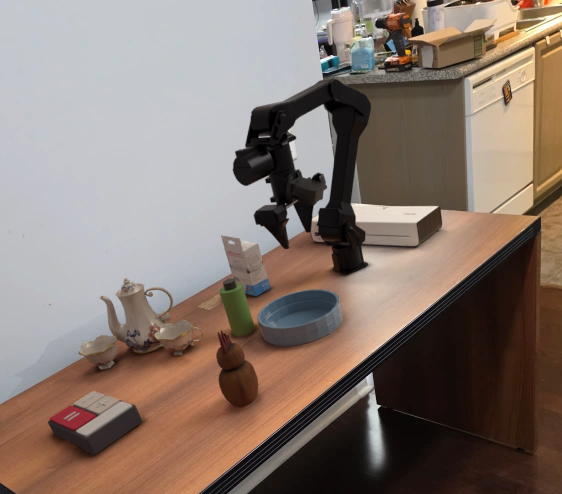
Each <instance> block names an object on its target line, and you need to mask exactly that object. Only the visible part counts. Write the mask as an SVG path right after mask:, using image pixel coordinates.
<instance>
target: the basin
mask: <svg viewBox="0 0 562 494" xmlns="http://www.w3.org/2000/svg"><path fill="white" fill-rule="evenodd" d="M256 319H257V320H256V321H257V323H258V326H259V330H260V333H261V337H262V338H263V340H264V341H265V342H267V343H268V344H271V345H274V346H278V347H279V346H281V347H290V346H300V345H304V344H309V343H312V342H315V341H318V340H320V339H323V338H324V337H327V336H328V335H330V334H331V333H333V332H334V331H336V330H337V329H338V328H339V327H340V326H341V325H342V323H343V321H344V313H343V308H342V304H341V299H340V296H339V295H338V294H337V293H336V292H334V291H332V290H329V289H323V288H311V289H304V290H303V289H302V290H298V291H294V292H290V293H287V294H285V295H284V294H283V295H281V296H280V297H277V298H275V299H273V300H272V301H270V302H268V303H267V304H265V305H264V306H263V307H262V308H261V309H260V310H259V312H258V313H257V318H256Z"/></svg>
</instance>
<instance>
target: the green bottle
mask: <svg viewBox="0 0 562 494" xmlns="http://www.w3.org/2000/svg"><path fill="white" fill-rule="evenodd" d="M222 285H223V286H221V287H220V288H219V291H218V292H219V295H220V298H221V302H222V304H223V307H224V311H225V314H226V317H227V321H228V324H229V327H230V330H231V333H232V335H233V336H236V337H241V336H245V335H248V334H250V333H252V332H253V331H254V330H255V329H256V328H255V322H254V320H253V316H252V312H251V309H250V306H249V303H248V299H247V296H246V294H245V292H244V289H243V285H242V284H241V283H236V282H235V279H233V278H227V279H225V280H223V281H222Z"/></svg>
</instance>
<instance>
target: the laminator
mask: <svg viewBox="0 0 562 494" xmlns="http://www.w3.org/2000/svg"><path fill="white" fill-rule="evenodd" d="M352 208H353V210H354V213H355V215H356V225H357V226H358V227H359V228H361V229H362V230H364V231H365V232H366V235H365V241H364V242H363V243H362V245H361V246H380V247H381V246H382V247H383V246H384V247H401V248H402V247H405V248H417V247H419V246H420V244H422V243H423V242H424V241H426V240H427V239H429V237H431V236H432V235H434V234H435V233H436V232H437V231H438V230H441V229H442V227H443V217H442V207H441V206H440V205H436V206H435V205H357V206H356V205H352ZM318 217H319V213H318V214H316V215H314V216H312V226H311V232H310V233H309V234H310V237H311V240H312V241H313V242H314V243H318V244H325V242H324V241H323V239H322V238H321V236H320V235H319V233H318V226H317V222H318Z"/></svg>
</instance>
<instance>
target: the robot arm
mask: <svg viewBox="0 0 562 494" xmlns="http://www.w3.org/2000/svg"><path fill="white" fill-rule="evenodd" d="M322 105H323V108H324V110H325V111H327V113H329V114H331V125H332V127H333V130H334V132H335V134H336V141H335V148H334V159H333V166H332V175H331V182H330V191H329V200H328V202H327V204H326V205H325V207H320V208H319V209H318V214H319V217H318V222H317V226H318V233H319V235H320V236H321V238H322V239H323V241H324V242H325V243H324V244H325V246H326V247H331V260H332V264H333V267H332V270H333V271H335V272H338V273H341V274H343V275H350V274H353V273H355V272H357V271H359V270H361V269H363V268H365V267H368V266H369V262H367V261H365V259H364V254H363V253H364V252H363V248H362V246H363V245H362V243H363V242H364V241H365V235H366V232H365V231H364V230H362V229H361V228H359V227H358V226H357V225H356V215H355V213H354V210H353V208H352V206H353V205H352V197H353V189H354V180H355V172H356V164H357V158H358V157H357V156H358V148H359V140H360V137H361V135H362V134H363V133H364V131H365V129H366V128H367V126H368V124H369V120H370V116H371V111H372V103H371V101H370V100H369V97H368V96H367V95H366V94H365V93H363V92H360V91H359V90H358V89H355V88H353V87H351V86H349V85H346V84H344V83H343V82H342V81H341V80H339V79H337V78H336V77H335V78H333V77H331V78H326V79H320V80H318V81H317V82H316V83H314V84H313V85H311V86H308V87H307V88H305V89H303V90H301V91H299V92H297V93H296V94H293V95H291V96H290V97H287V98H286V99H284V100H282V101H278V102H274V103H273V102H272V103H267V104H262V105H260V106H255V107H254V108H253V109H252V110H251V112H250V114H251V115H250V121H249V126H248V130H247V134H246V139H245V143H244V148H239V149H237V150H235V151H234V155H235V158H234V160H233V162H232V173H233V176H234V178H235V179H236V181H237V182H238V183H239V184H240V185H242V186H245V187H248V186H250V185H252V184H255V183H257V182H259V181H261V180H263V179H264V180H265V184H270V187H271V192H272V196H271V197H269V200H270V204H264V205H263V206H261V207H260V208H258V209H257V210H255V212H254V214H253V219H254V223H255V225H256V226H260V227H264V228H265V229H266V230H267V231H268V232H269V233H270V234H271V235H272V236H273V238H275V240H276V241H277V242H278V243H279V245H280V246H281V247H282V248H283V249H284V250H289V249H290V243H289V242H290V241H289V237H288V230H287V225H288V222H289V220H290V218H288V209H289V208H290V207H292V206H293V208H294V210H295V212H296V214H297V216H298V218H299V221H300V223H301V225H302V227H303V229H304V232H306V233H307V234H311V233H310V232H311V226H312V218H313V215H314V214H313V213H314V207H315V205H316V204H317V203H318V202H320V201H323V199H324V191H326V190H327V189H328V185H327V181H326V178H325V174H324V173H322V172H316V173H315V174H314V175H312V177H310V176H308V177H304V176H303V174H302V171H301V170H300V169H299V168H298V169H296V167H295V162H294V158H293V153H292V149H291V148H292V147H291V144H290V143H291V142H293V141H296V140H297V136H296V135H294V134H293V133H291V132H290V131H289V130H290V129H292V128H293V127H294V126H295V124H296V121H297V120H298V119H299V118H301V117H303V116H304V115H307V114H308V113H310V112H312V111H314V110H316V109H317V108H319V107H321V106H322ZM271 203H272V204H271Z"/></svg>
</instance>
